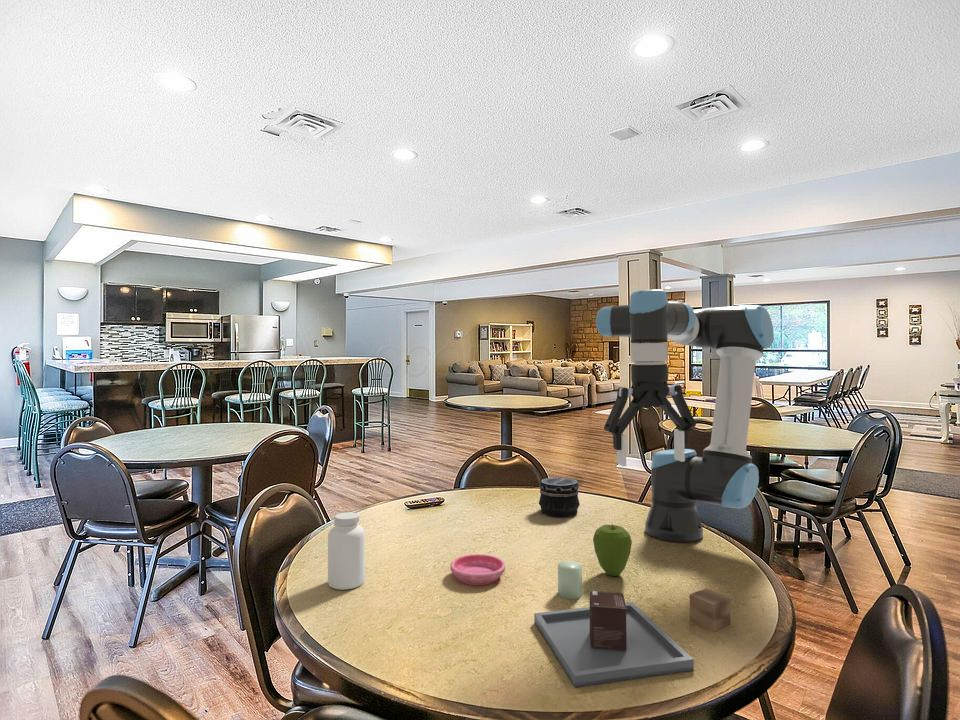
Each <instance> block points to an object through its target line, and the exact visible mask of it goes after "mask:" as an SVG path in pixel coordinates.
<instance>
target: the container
mask: <svg viewBox="0 0 960 720" xmlns="http://www.w3.org/2000/svg"><path fill="white" fill-rule="evenodd" d="M538 487H539V488H540V489H539V493H540V497H539V501H538V504H539V506H540V510H541V511H540V512H541V513H542V514H544V515H545V516H548V517H553V518H567V517H568V518H569V517H574V516H576V515H577V514H578V509H579V507H580V506H581V505H580V500H579V488H580V484H579V483H578V481H577V480H576V479H573V478H569V477H548V478H543V479H542V480H541V481H540V483H539V485H538Z"/></svg>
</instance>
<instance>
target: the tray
mask: <svg viewBox="0 0 960 720" xmlns="http://www.w3.org/2000/svg"><path fill="white" fill-rule="evenodd" d="M625 604H626V634H627V650H626V651H620V650H609V649H596V648H591V645H590V606H587V607H586V606H585V607H578V608H570V609H562V610H561V609H560V610H552V611H543V612H542V611H541V612H534V617H533V618H534V624H535V626H536V628H537V630H538V631H539V632H540V634H541V636H542V638H543V639H544V640H546V641H545V642H546V644H547V645H548V647H549V649H550V648H551V649H550V650H551V652H552V653H553V654H554V655H553V656H555V658H556V660H557V661H558V662H559V665H560V667H562V669H563V671H564V672H565V674H566V676H567V677H568V679H569V680H570V682H571V684H572V685H573V687H574V688H582V687H589V686H596V685H603V684H611V683H616V682H622V681H630V680H636V679H638V680H639V679H644V678H651V677H658V676H665V675H672V674H677V673H686V672H693V671H694V669H695V666H694V661H695V659H694V658H693V657H692V656H691V655H690V654H689V653H688V652H687V651H686V650H685V649H683V648H682V647H681V646H680V645H679V643H677V642H676V641H675V640H673V638H672V637H670V636H669V635H668V633H666V632H665V631H664V630H663V629H662V628H660V626H659V625H658V624H656V623H655V622H654V621H653V620H652V618H650V617H649V616H648V615H647V614H646V613H644V612H643V611H642V609H640V607H638V606H637V604H635V603H634V602H631V601H630V602H625Z"/></svg>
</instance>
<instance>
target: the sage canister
mask: <svg viewBox="0 0 960 720" xmlns="http://www.w3.org/2000/svg"><path fill="white" fill-rule="evenodd" d="M557 595H558V596H559V597H561V598H562V599H566V600H577V599H580V598H582V596H583V565H582V564H581V563H580V562H577V561H573V560H563V561H560V562H558V563H557Z"/></svg>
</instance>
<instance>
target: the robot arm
mask: <svg viewBox="0 0 960 720" xmlns="http://www.w3.org/2000/svg"><path fill="white" fill-rule="evenodd" d="M629 297H630V299H629V304H624V305H623V304H622V305H621V304H619V305H614V304H613V305H610V306H603V307H601V308H600V309H599V310H598V311H597V314H596V318H595V321H596V322H595V326H596V331H597V332H598V334H600V335H601V336H602V337H605V338H606V337H608V338H610V337H611V338H616V337H617V338H618V337H623V338H630V361H631V363H633V364H632V365H631V366H630V379H631V386H630V388H629V387H623V386H619V387H618V388H617V392H616V393H617V394H616V398H615V401H614V403H613V406H612V408H611V410H610V412H609V415H608V417H607V419H606V422H605V425H604V426H603V427H604V428H603V430H604V431H606V432H609V433H611V434H612V447H613V449H614V450H616V463H617V465H619V466H621V467H627V435H626V434H623V433H624V432H625V430H626V429H627V428H628V426H629V425H630V424H631V422H632V420H633V419H634V417H635V416H636V415H637V414H638V413H639V411H641V410H642V409H643V408H647V409H649V408H652V407H653V408H661V410H662V411H663V412H664V413H665V415H666V416H667V417H668V418H669V419H670V421H671V422H672V423H673V424H674V425H675V426H676V428H674V429H673V449H666V450H665V449H664V450H659V451H656V452H654V453H653V454H652V456H651V467H650V471H651V505H650V508H649V511H648V513H647V516H646V519H645V523H644V525H645V526H644V528H645V529H644V531H645V533H646V534H647V535H648V536H651V537H652V538H655V539H659V540H663V541H668V542H673V543H674V542H675V543H676V542H677V543H689V542H697V541H699V540H702V539H703V538H704V537H703V536H704V528H703V525H702V522H701V518H700V516H699V511H698V509H697V502H702V503H707V504H711V505H716V506H721V507H723V508H733V509H745V508H747V507H748V506H749V505H751V502H752V501H753V500H754V497H755V496H756V494H757V490H758V487H759V483H760V482H759V480H760V476H759V468H758V467H757V466H756V465H755V463H752V460H753V457H752V456H751V454H749V453H748V451H747V446H748V445H747V444H748V436H749V426H750V418H751V410H752V409H751V408H752V401H753V400H752V398H753V390H754V389H753V388H754V380H755V374H756V372H755V371H756V363H757V361H759V360H760V359H761V358H763V356H764V350H766V349H769V348H771V347H772V345H773V343H774V326H773V322H772V318H771V316H770V313H769V311H768V310H767V309H766V307H764V306H762V305H760V304H759V305H758V304H755V305H752V304H744V305H734V306H719V307H707V308H700V309H699V308H698V309H694V308H693V307H692V306H691V305H690V304H688V303H686V302H682V301H680V300H676V301H672V300H671V301H670V300H669V301H668V295H667V292H666V290H663V289H644V290H643V289H642V290H636V291H633V292H632V293H631V294H630V296H629ZM668 341H672V343H674V344H678V345H684V346H690V347H696V348H702V349H715V353H716V355H717V356H718V357H719V358H720V363H719V371H718V378H717V379H718V380H717V386H716V395H715V404H714V411H713V412H714V413H713V420H712V429H711V437H710V443H709V445H708V446H707V447H705V448H704V449H703V451H702V456H697V452H696V450H695V449H691V448H685V446H686V445H688V432H689V431H691V430H692V429H691V428H694V427H696V425H697V423H696V420H695V418H694V416H693V415H692V412H691V410H690V408H689V405H688V404H687V401H686V399H685V397H684V395H683V388H682V386H681V385H680V384H675V383H674V384H673V383H672V384H670V385H668V381H669V366H668V363H667V364H666V362H668V361H669V350H668V348H669V345H668ZM668 394H669V395H670V396H671V398H672V400H673V402H674V405H675V407H676V409H677V410H676V409H675V407H673V406H672V403H671V402H670V400H668V398H667V396H668ZM630 396H632V399H631V401H630V402H629V403H628V406H627V408H626V409H625V411H624V408H625V407H626V404H627V401H628V400H629V398H630ZM623 411H624V412H623ZM677 411H678V412H677ZM677 428H678V429H677Z"/></svg>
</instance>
